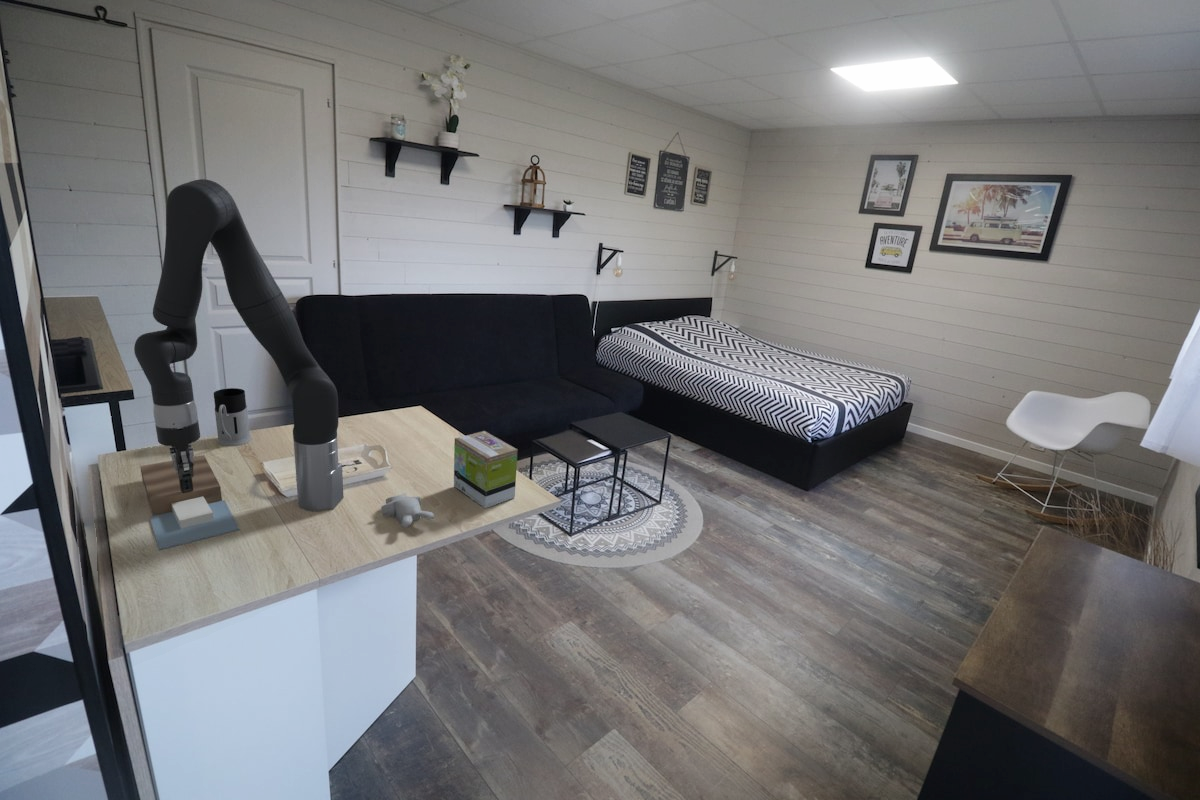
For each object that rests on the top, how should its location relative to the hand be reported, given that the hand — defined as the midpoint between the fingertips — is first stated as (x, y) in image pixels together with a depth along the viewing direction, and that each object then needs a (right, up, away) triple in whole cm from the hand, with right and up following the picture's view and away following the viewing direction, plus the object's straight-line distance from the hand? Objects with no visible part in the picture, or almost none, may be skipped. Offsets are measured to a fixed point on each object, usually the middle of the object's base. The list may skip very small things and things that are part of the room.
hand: (187, 491), depth 126 cm
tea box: (+63, -4, +23) cm, 67 cm away
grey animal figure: (+48, -8, +7) cm, 49 cm away
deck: (-7, -1, +8) cm, 11 cm away
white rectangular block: (+3, -5, -2) cm, 6 cm away
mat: (+5, -7, -4) cm, 9 cm away
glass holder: (-13, +8, +35) cm, 38 cm away
